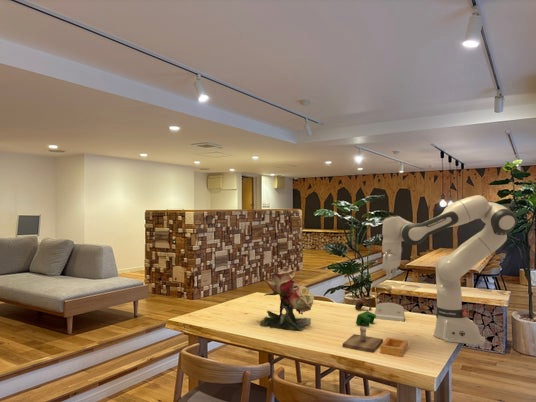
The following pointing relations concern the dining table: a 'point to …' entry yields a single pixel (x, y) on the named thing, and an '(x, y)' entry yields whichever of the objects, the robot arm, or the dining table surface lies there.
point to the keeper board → (363, 342)
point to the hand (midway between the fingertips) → (391, 277)
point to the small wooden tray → (389, 342)
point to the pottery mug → (362, 303)
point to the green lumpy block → (365, 318)
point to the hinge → (389, 312)
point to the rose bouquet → (288, 302)
